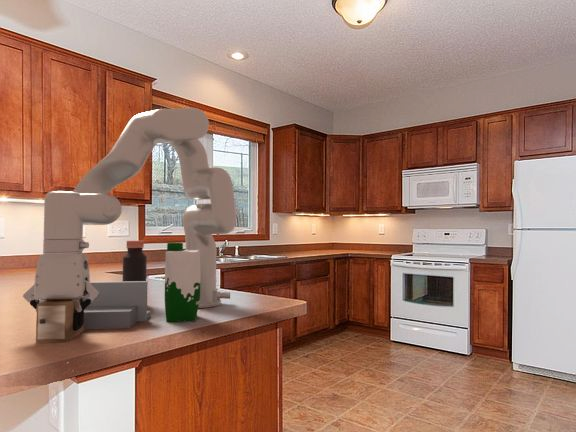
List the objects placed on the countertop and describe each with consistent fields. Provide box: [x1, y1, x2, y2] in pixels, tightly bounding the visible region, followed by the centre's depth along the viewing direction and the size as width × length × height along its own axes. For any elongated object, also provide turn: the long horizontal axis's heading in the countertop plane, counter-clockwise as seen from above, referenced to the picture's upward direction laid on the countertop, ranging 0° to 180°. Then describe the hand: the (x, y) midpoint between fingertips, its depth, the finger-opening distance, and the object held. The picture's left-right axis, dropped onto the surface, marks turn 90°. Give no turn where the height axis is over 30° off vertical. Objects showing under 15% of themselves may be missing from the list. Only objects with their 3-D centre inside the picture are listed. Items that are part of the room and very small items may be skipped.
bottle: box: [122, 240, 148, 282], centre depth 120 cm, size 7×7×20 cm
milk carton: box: [164, 242, 201, 323], centre depth 103 cm, size 9×9×20 cm
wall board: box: [84, 280, 151, 330], centre depth 98 cm, size 20×12×10 cm, turn 98°
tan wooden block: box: [35, 296, 85, 344], centre depth 85 cm, size 6×10×8 cm, turn 7°
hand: (61, 328), depth 86 cm, fingers closed on tan wooden block, 6 cm apart
